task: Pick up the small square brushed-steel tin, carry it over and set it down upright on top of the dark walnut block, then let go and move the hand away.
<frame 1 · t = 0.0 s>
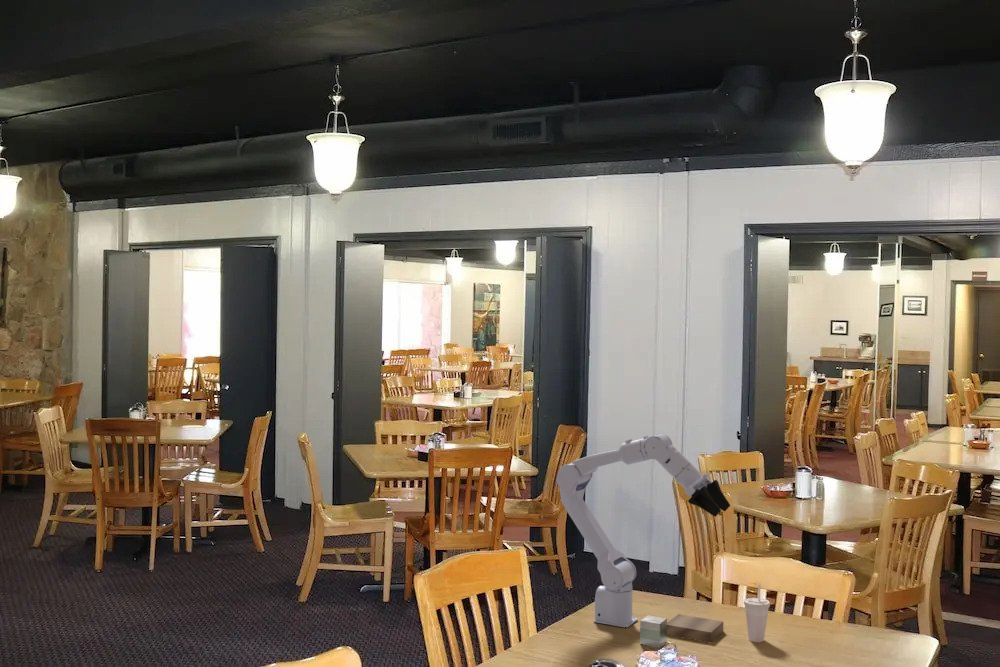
hand: (722, 511, 241), 32 cm above the table, tool tilted 50°, fingers open, 7 cm apart
smoothie: (756, 640, 242), on the table
steel tin: (653, 643, 239), on the table
walnut block: (694, 634, 247), on the table
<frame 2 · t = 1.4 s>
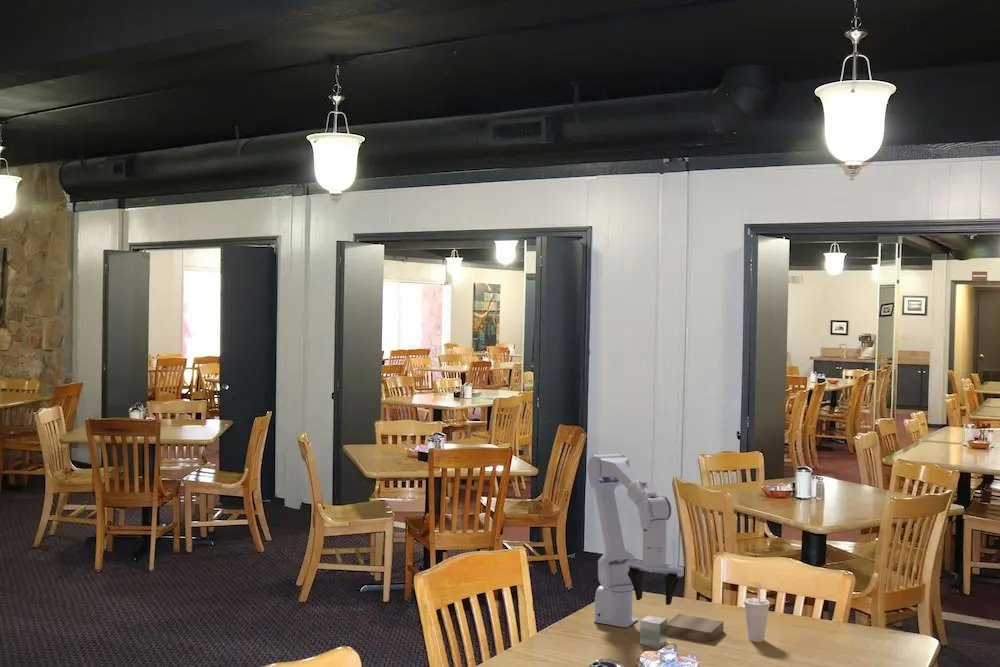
hand: (653, 601, 238), 10 cm above the table, tool pointing down, fingers open, 7 cm apart
nothing on the table moved.
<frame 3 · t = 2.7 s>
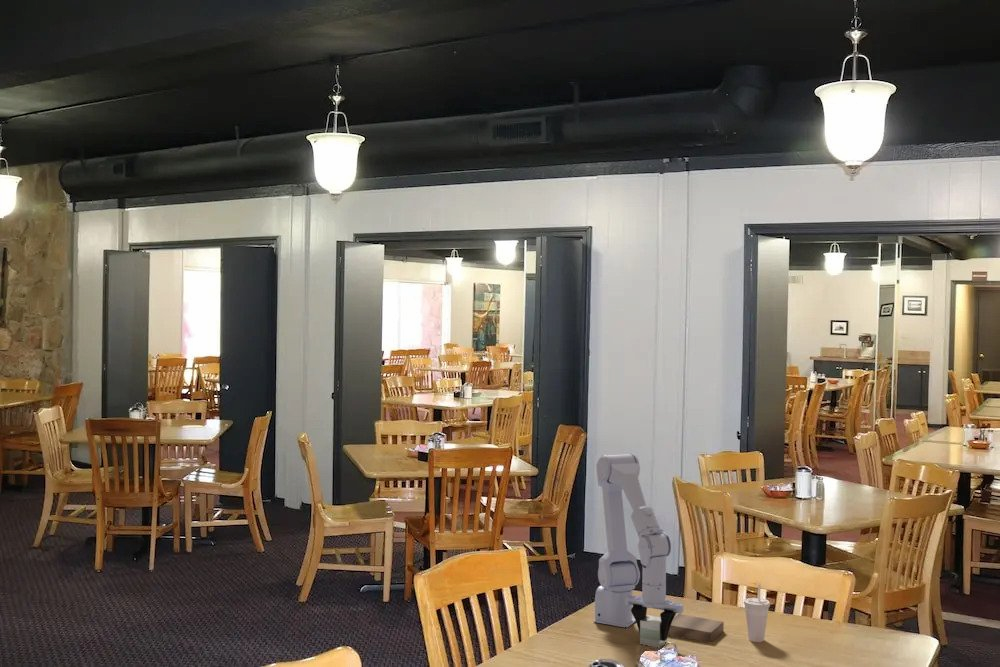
hand: (653, 637, 239), 1 cm above the table, tool pointing down, fingers closed on steel tin, 5 cm apart
steel tin: (653, 643, 239), on the table, touching gripper
everything else where it was.
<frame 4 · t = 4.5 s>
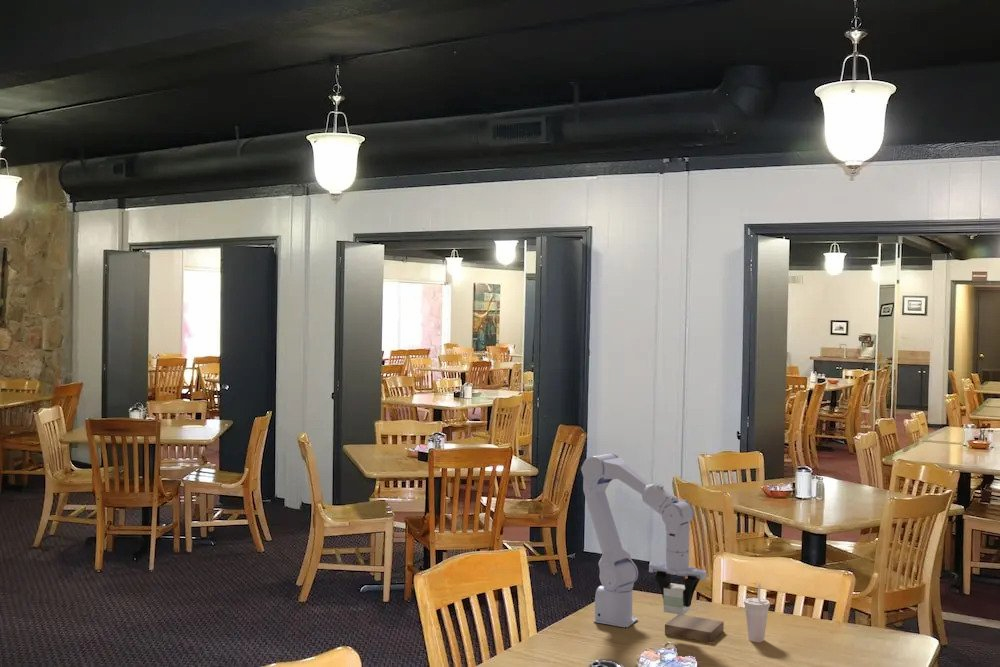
hand: (677, 604, 243), 8 cm above the table, tool pointing down, fingers closed on steel tin, 5 cm apart
steel tin: (676, 610, 243), point 7 cm above the table, touching gripper
everything else where it was.
when the fingers open (5 cm above the table, at t = 6.1 s): steel tin drops 1 cm, resting on walnut block.
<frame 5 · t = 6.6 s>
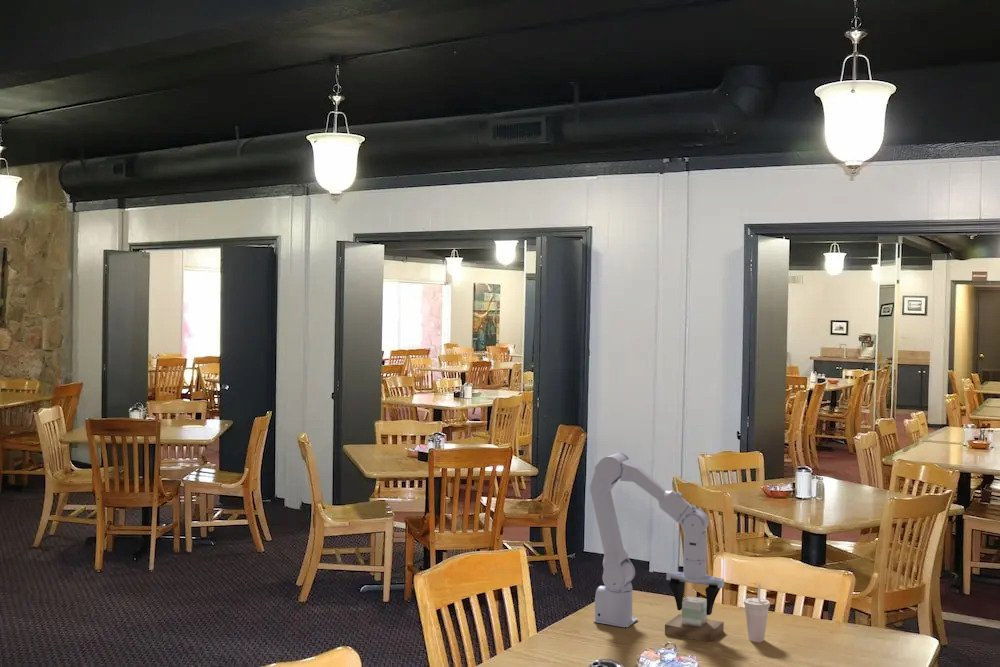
hand: (694, 611, 247), 5 cm above the table, tool pointing down, fingers open, 7 cm apart
steel tin: (694, 623, 247), point 2 cm above the table, touching walnut block
walnut block: (694, 634, 247), on the table, touching steel tin
everything else where it was.
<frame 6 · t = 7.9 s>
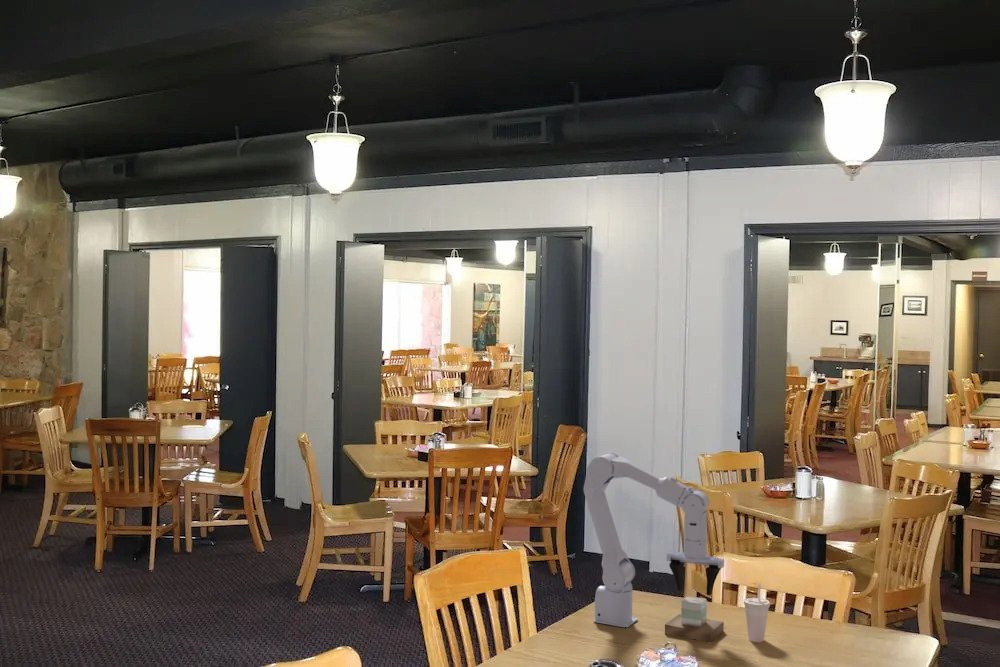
hand: (694, 592, 247), 10 cm above the table, tool pointing down, fingers open, 7 cm apart
nothing on the table moved.
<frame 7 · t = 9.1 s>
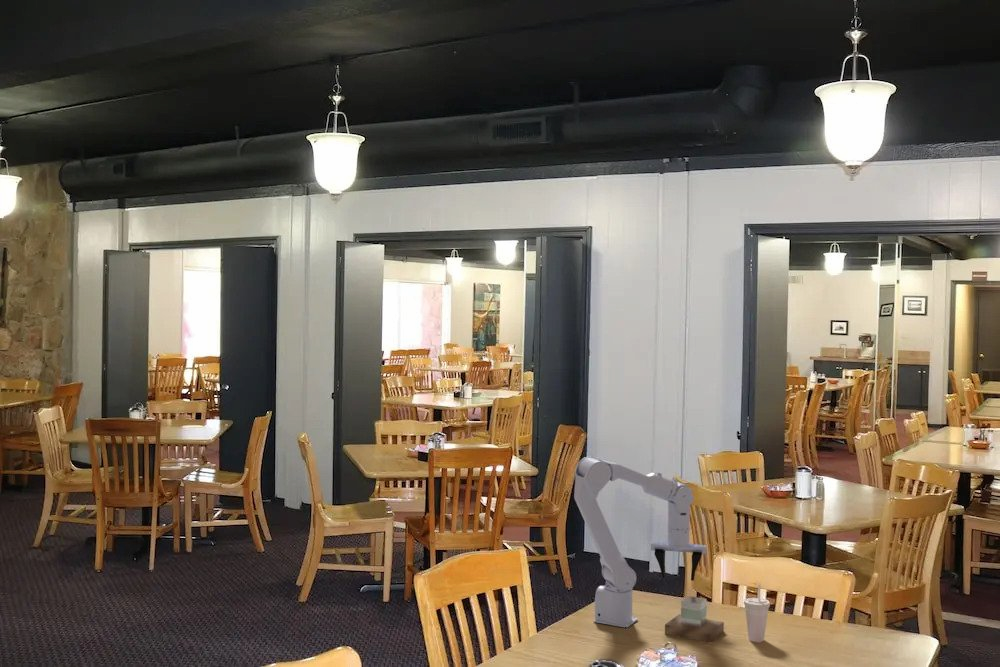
hand: (678, 578, 259), 10 cm above the table, tool pointing down, fingers open, 7 cm apart
nothing on the table moved.
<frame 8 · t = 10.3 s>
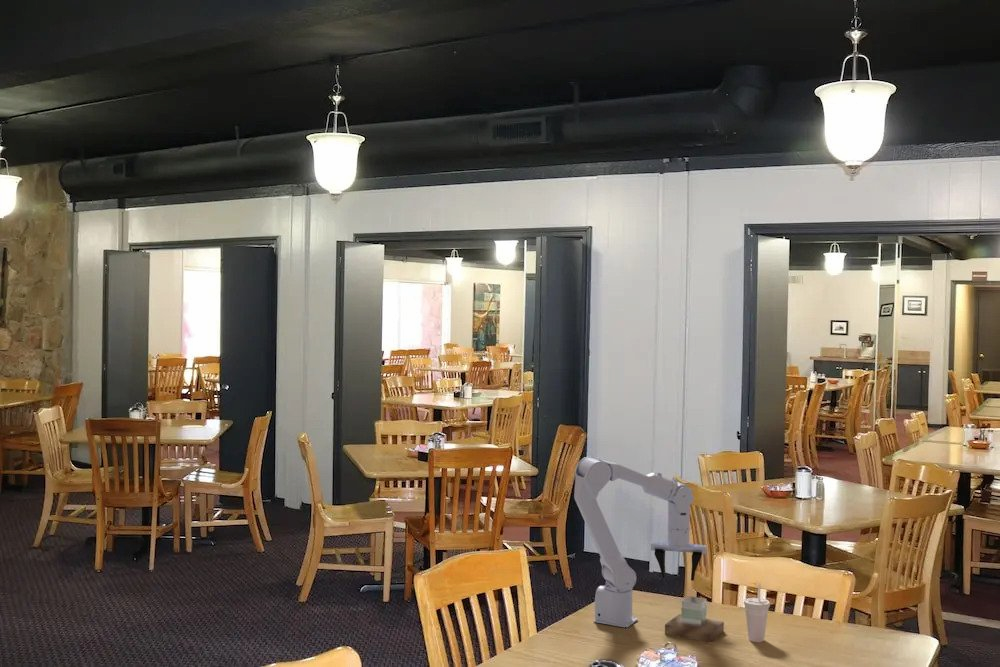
hand: (678, 578, 259), 10 cm above the table, tool pointing down, fingers open, 7 cm apart
nothing on the table moved.
at the end: steel tin inside the target area on the walnut block (0.1 cm from its centre), point 3.0 cm above the walnut block's base; steel tin tilted 0°; the gripper is holding nothing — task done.
